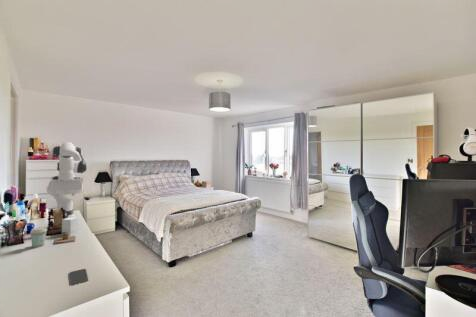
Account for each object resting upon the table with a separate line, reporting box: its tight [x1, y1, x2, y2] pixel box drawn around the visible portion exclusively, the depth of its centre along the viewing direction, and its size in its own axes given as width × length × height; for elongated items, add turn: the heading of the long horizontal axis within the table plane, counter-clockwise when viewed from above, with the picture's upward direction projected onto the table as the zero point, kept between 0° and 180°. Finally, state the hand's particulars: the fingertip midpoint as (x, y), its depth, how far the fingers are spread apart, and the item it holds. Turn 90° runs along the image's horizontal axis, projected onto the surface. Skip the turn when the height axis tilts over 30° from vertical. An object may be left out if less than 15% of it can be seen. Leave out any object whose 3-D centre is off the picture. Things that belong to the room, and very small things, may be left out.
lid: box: [53, 231, 76, 245], centre depth 160 cm, size 11×11×6 cm
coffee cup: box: [29, 226, 48, 249], centre depth 149 cm, size 8×9×12 cm
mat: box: [53, 235, 76, 246], centre depth 160 cm, size 14×12×1 cm
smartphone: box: [68, 268, 89, 286], centre depth 110 cm, size 7×1×15 cm
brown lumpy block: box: [46, 207, 66, 236], centre depth 178 cm, size 15×15×20 cm
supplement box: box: [61, 217, 79, 237], centre depth 175 cm, size 7×7×13 cm
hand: (65, 196), depth 165 cm, fingers open, 8 cm apart
